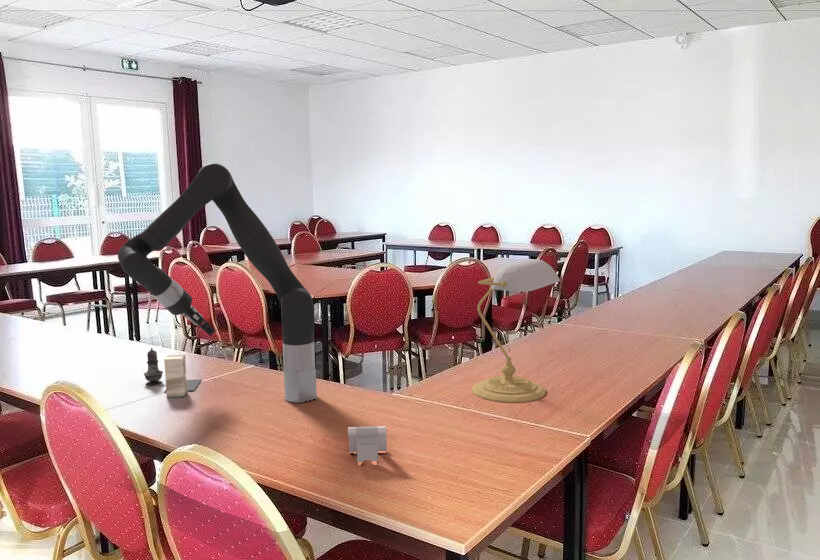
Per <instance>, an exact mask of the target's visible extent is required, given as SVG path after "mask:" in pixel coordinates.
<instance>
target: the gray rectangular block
mask: <svg viewBox="0 0 820 560" xmlns="http://www.w3.org/2000/svg"><path fill="white" fill-rule="evenodd" d="M201 382H202V379H201V378H200V379H199V378H197V379H196V378H195V379H187V393H189V392H195V391H196V390H197V388H198V386H199V385H200V383H201ZM163 392H164V393H166V389H164V391H163ZM166 394H167V393H166Z"/></svg>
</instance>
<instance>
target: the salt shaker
mask: <svg viewBox="0 0 820 560" xmlns="http://www.w3.org/2000/svg"><path fill="white" fill-rule="evenodd" d="M146 363H147V371H146V372H144V373H143V376H144V378H145V380H146V381H147V382H146V383H145V386H146V387H156V386H157V387H158V386H160V385H162V384H164V383H163V381H161V378H162V377H163V373H164V372H163V371H162V370H160V369H159V365H158V363H159V360H158V353H157V351H156V350H154V349H153V348H152V347H151V348H150V350H149V351H148V352H147V361H146Z"/></svg>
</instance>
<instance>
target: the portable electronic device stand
mask: <svg viewBox="0 0 820 560" xmlns="http://www.w3.org/2000/svg"><path fill="white" fill-rule="evenodd" d="M347 438H348V446H349V453H350V452H357V454H356V463H357V462H363V461H378V462H379V454H378V451H387V450H388V449H387V447H388V446H387V426H386V425H382V426H381V425H380V426H379V425H377V426H374V425H373V426H348V427H347ZM387 452H388V451H387Z"/></svg>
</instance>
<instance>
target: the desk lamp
mask: <svg viewBox="0 0 820 560" xmlns="http://www.w3.org/2000/svg"><path fill="white" fill-rule="evenodd" d="M559 282H561V279H560V278H559V276H558V274H557V272H556V271H555V270H554V268H553V267H552V266H551V265H550V264H549V263H547V262H546V261H545V260H542V259H536V258H535V259H534V258H533V259H530V260H529V259H528V260H526V261H521V262H518V263H517V262H516V263H513V264H509V265H506V266H503V267H502V268H500V269H499V270H498V272H497V273H496V274H495V276H494V277H489V278H486V279H483V280H479V281H478V285H485V286H491V287H490V288H489V289H488V290H487V292H486V293H484V295H483V296H482V298H481V299H480V300H479V302H478V304H477V308H476V309H477V313H478V316H479V317H480V319H481V320H482V321H483V323H484V325H485V326H486V328H487V330H488V331H489V333H490V334H491V336H492V338H493V339H494V340H495V342H496V343H497V345H498V347H499V348H500V350H501V352H502V353H503V354H504V357H505V359H506V362H505V364H504V365H502V367H501V373H502V374H503V375H497V376H493V377H490V378H488V379H484V380H480V381H479V382H477V383H475V384H474V385H473V386H472V387H471V392H472V393H473V394H474V395H475V397H478V398H480V397H481V398H480V399H483V400H486V399H487V401H490V400H492V401H491V402H498V403H499V402H500V403H509V404H510V403H517V404H518V403H527V402H532V401H536V400H540V399H541V398H543V397H544V396H546V392H547V391H546V389H545V387H543V386H542V385H541V384H540V383H537V382H535V381H531V380H529V379H527V378H526V377H523V376H522V377H521V376H519V375H518V376H516V375H515V373H516V372H517V369H516V367H515V366H514V365H513V363H512V358H511V357H510V356H509V355H508V353H511V347H508V353H507V351H506V350H505V349H504V347H503V345H502V343H500V341H499V339H498V337H497V336H496V334H495V332H494V331H493V329H492V328H491V326H490V324H489V323H488V321H487V320H486V318H485V317H484V315H483V313H482V312H481V311H482V310H481V306H482V304H483V302H484V301H485V299H486V298H487V297H488V296H489V295H490V293H491V292H492V291H493V290H497V291H508V292H532V291H537V290H538V289H542V288H545V287H547V286H550V285H553V284H556V283H559ZM508 332H509V335H508V336H509V340H510V330H509V331H508Z"/></svg>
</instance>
